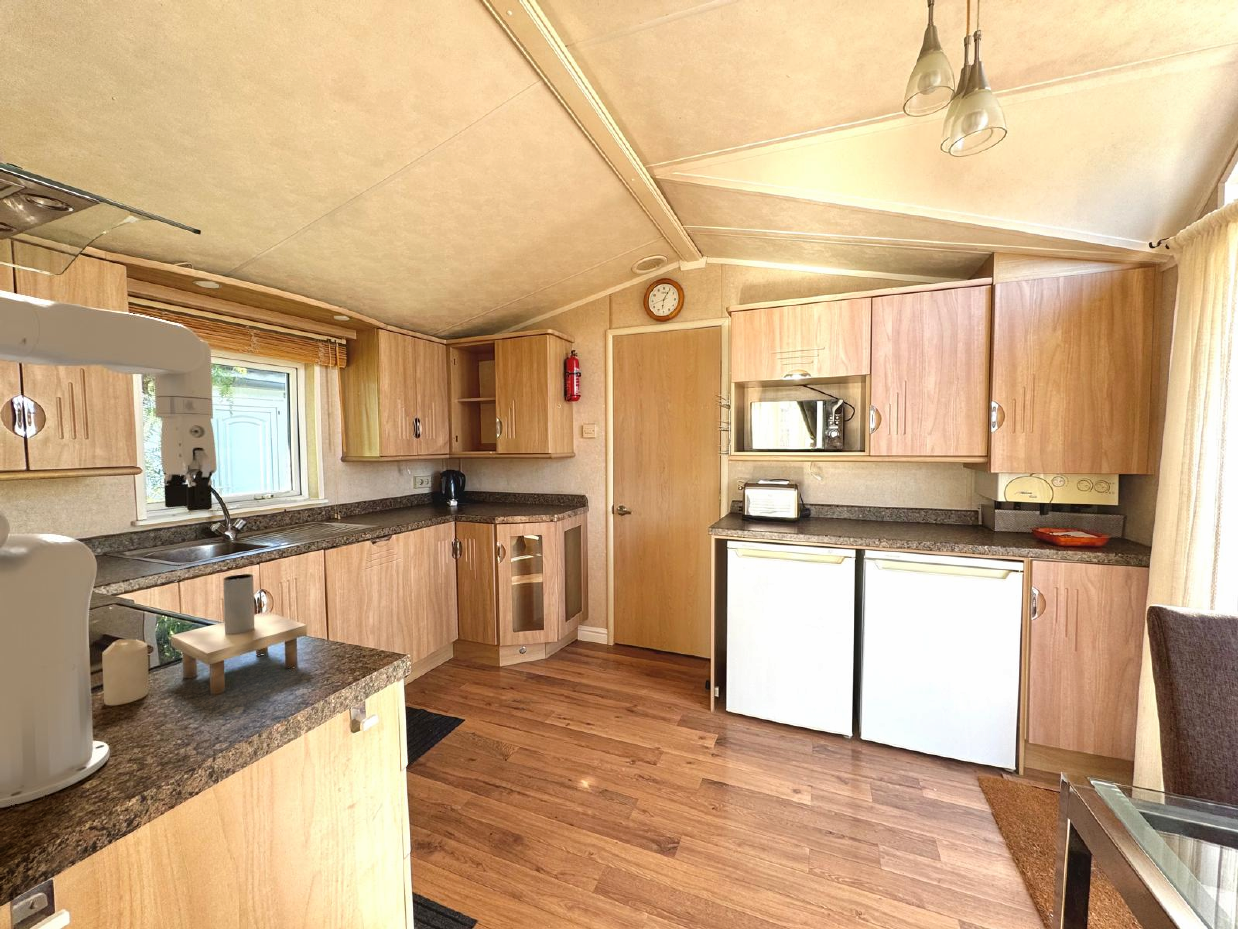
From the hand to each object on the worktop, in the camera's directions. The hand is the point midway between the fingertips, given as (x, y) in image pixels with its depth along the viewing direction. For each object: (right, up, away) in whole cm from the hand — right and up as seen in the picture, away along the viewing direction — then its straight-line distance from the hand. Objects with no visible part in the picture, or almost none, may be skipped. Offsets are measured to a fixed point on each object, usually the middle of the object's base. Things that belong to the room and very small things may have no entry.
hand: (188, 508), depth 88 cm
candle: (-9, -33, -1) cm, 34 cm away
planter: (+3, -24, +8) cm, 26 cm away
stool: (+3, -32, +9) cm, 33 cm away
